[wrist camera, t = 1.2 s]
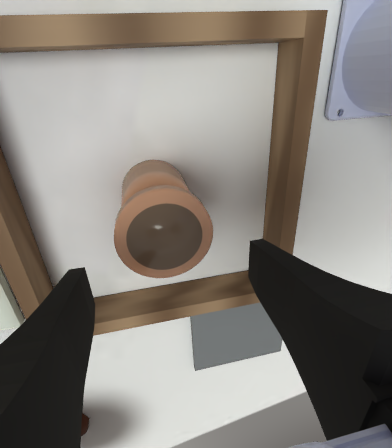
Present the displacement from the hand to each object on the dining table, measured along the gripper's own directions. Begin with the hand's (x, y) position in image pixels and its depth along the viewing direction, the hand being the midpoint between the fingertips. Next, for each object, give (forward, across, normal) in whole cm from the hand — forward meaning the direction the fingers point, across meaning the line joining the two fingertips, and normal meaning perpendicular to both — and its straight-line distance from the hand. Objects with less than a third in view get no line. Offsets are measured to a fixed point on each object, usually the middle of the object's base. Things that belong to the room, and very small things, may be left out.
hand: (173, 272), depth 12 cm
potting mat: (+10, -7, +16) cm, 20 cm away
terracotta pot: (+10, 0, 0) cm, 10 cm away
